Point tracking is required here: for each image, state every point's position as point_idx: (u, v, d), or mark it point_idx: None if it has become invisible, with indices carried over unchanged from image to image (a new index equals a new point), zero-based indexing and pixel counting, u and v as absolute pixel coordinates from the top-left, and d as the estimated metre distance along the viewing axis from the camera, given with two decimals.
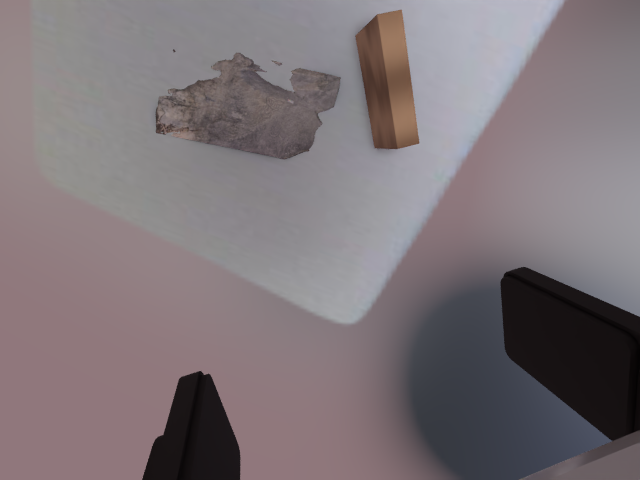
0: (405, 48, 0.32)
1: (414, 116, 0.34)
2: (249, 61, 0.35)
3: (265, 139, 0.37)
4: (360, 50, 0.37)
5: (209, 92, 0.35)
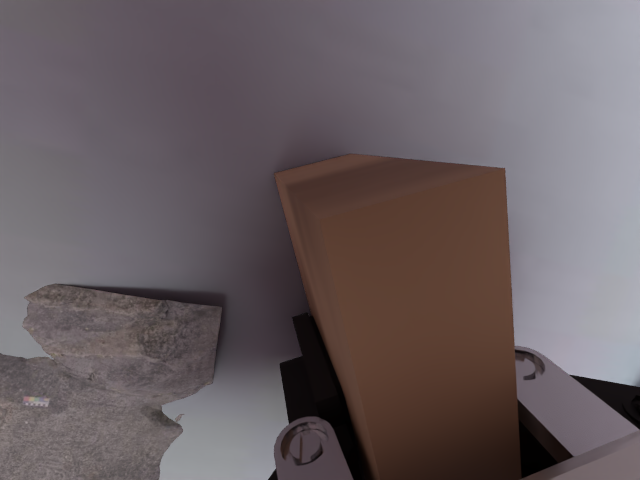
0: (508, 379, 0.05)
1: None
2: None
3: None
4: (290, 231, 0.10)
5: None
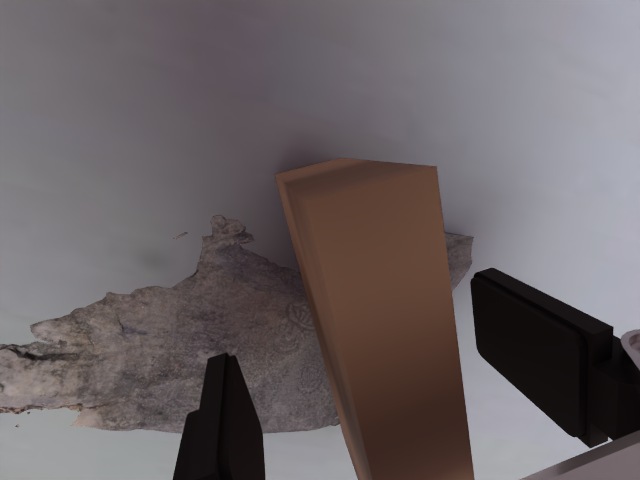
0: (449, 324, 0.07)
1: None
2: (239, 222, 0.13)
3: (288, 400, 0.15)
4: (288, 223, 0.11)
5: (132, 312, 0.13)
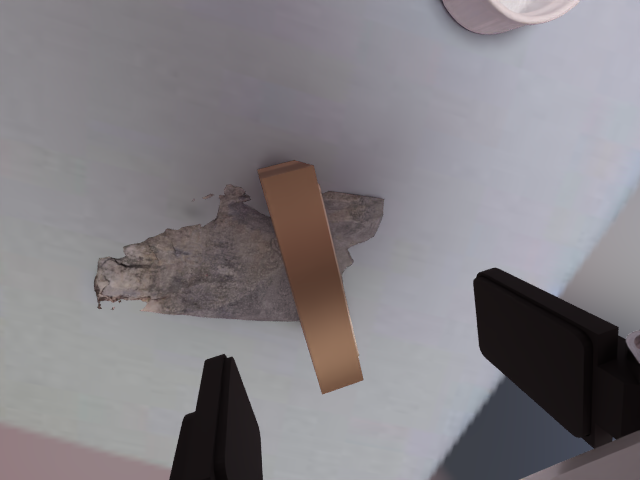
0: (326, 232, 0.16)
1: (351, 340, 0.18)
2: (241, 189, 0.22)
3: (272, 300, 0.24)
4: None
5: (180, 241, 0.22)
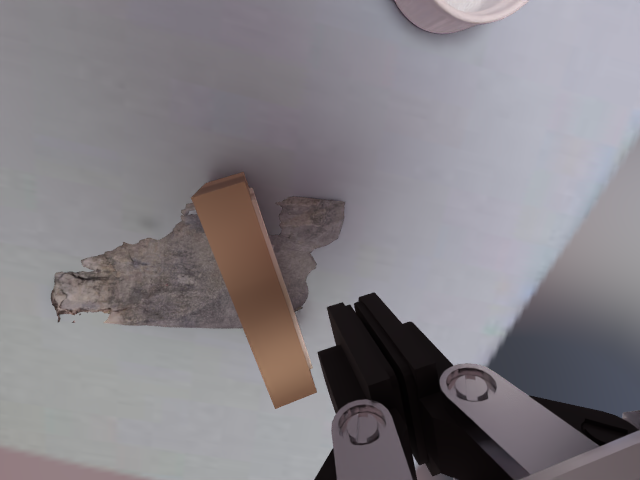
0: (264, 247, 0.16)
1: (301, 353, 0.18)
2: None
3: None
4: None
5: (138, 252, 0.22)
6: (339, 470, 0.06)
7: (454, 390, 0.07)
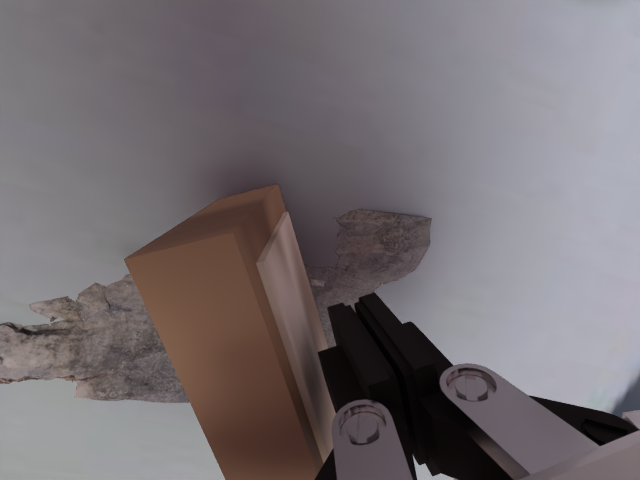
0: (272, 363, 0.08)
1: None
2: None
3: None
4: None
5: (117, 291, 0.14)
6: (339, 470, 0.06)
7: (454, 390, 0.07)
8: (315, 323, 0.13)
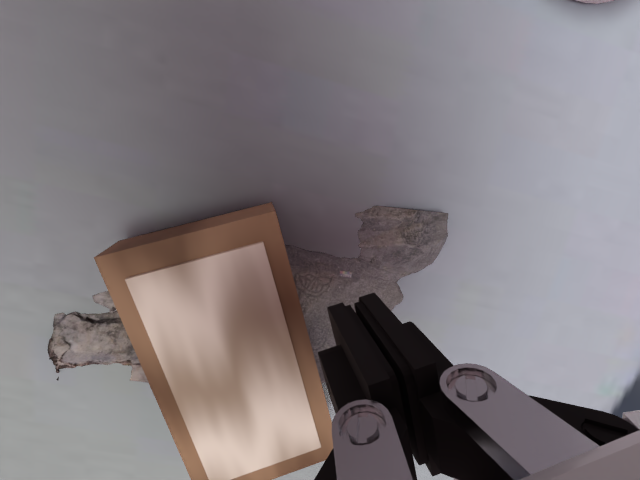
0: (129, 334, 0.13)
1: None
2: None
3: None
4: None
5: None
6: (339, 470, 0.06)
7: (454, 390, 0.07)
8: (262, 345, 0.14)
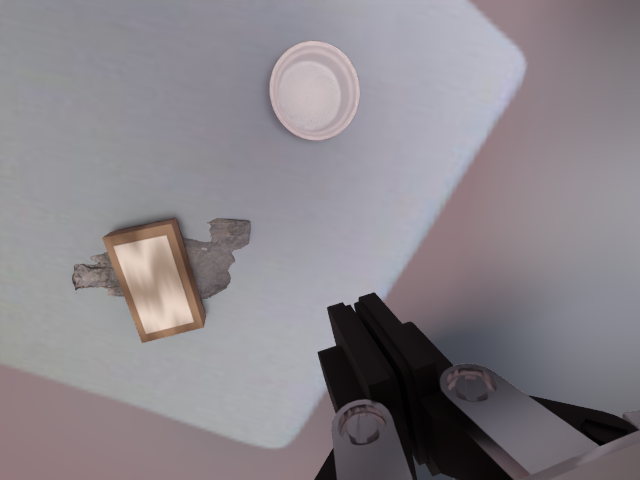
0: (114, 267, 0.34)
1: (134, 320, 0.36)
2: None
3: None
4: None
5: None
6: (339, 470, 0.06)
7: (454, 390, 0.07)
8: (166, 275, 0.35)
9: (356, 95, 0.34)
